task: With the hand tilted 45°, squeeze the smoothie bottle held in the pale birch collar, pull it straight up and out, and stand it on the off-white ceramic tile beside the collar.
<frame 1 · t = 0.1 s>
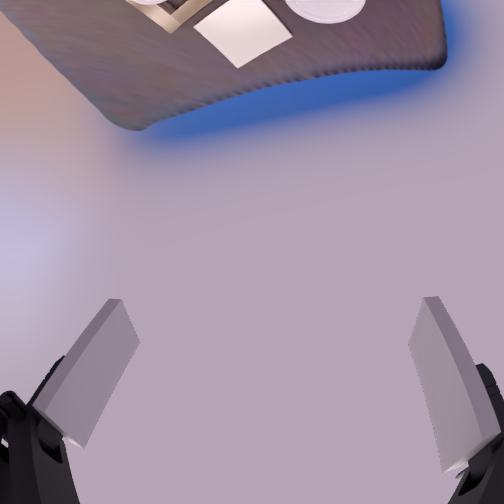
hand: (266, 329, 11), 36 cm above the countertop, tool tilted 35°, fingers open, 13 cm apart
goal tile: (243, 27, 27), on the countertop
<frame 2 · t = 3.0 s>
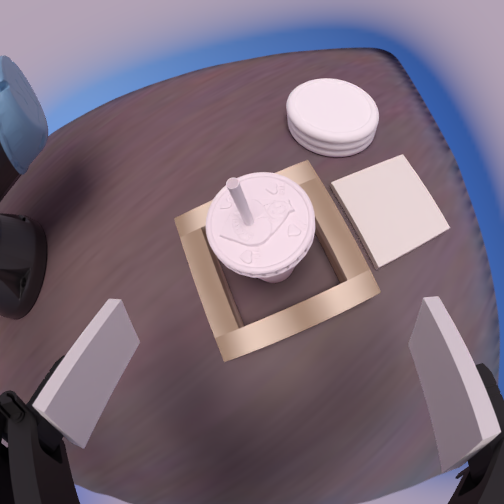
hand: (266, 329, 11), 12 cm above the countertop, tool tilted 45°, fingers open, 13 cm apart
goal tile: (391, 208, 25), on the countertop
bottle collar: (273, 262, 25), on the countertop
coaster: (331, 126, 29), on the countertop
smoothie: (274, 262, 25), resting in bottle collar
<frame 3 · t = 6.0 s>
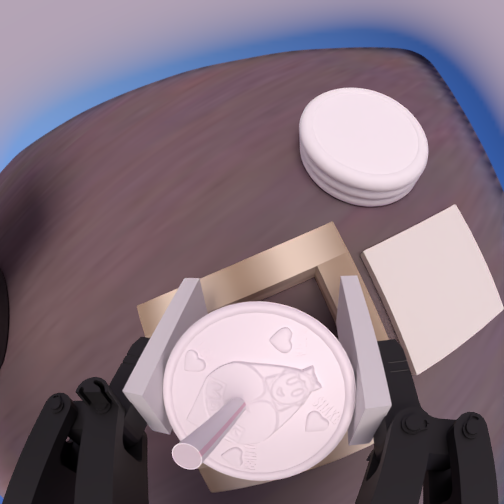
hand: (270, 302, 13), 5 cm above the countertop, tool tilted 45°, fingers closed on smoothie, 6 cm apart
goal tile: (438, 285, 16), on the countertop
bottle collar: (277, 367, 17), on the countertop
coaster: (360, 156, 21), on the countertop
smoothie: (277, 367, 17), resting in bottle collar, touching gripper
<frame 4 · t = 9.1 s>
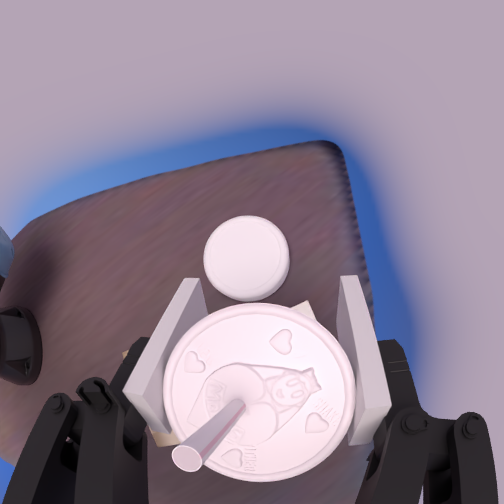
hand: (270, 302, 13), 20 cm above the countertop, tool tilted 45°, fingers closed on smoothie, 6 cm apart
bottle collar: (191, 385, 31), on the countertop
coaster: (249, 262, 35), on the countertop
smoothie: (277, 367, 17), point 15 cm above the countertop, touching gripper
when the fingers open (7 cm above the countertop, at t = 12.2 s): smoothie stays where it is, resting on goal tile.
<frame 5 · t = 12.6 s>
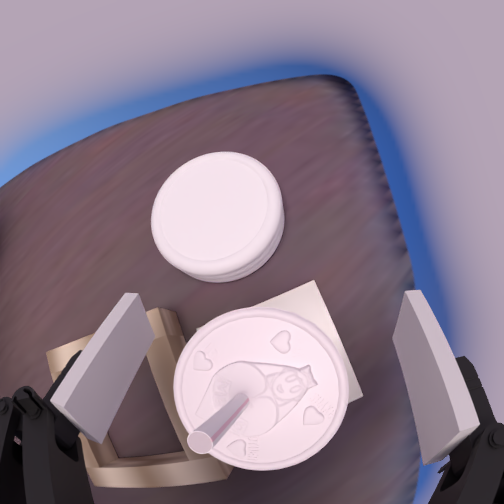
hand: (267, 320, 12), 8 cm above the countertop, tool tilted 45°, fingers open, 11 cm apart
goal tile: (279, 364, 19), on the countertop
bottle collar: (136, 408, 19), on the countertop
coaster: (223, 224, 23), on the countertop
smoothie: (278, 366, 18), point 1 cm above the countertop, touching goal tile
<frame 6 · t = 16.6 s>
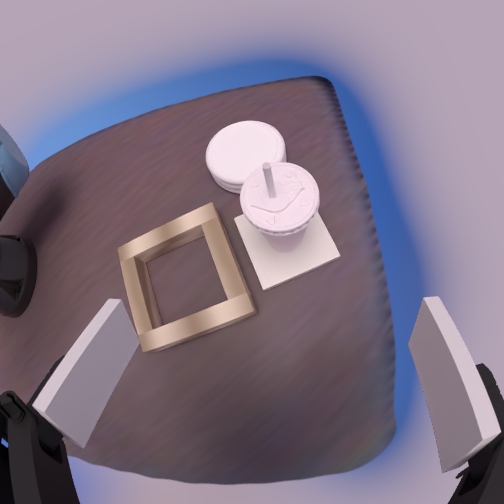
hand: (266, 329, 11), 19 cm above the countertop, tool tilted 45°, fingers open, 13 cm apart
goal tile: (286, 239, 32), on the countertop
bottle collar: (186, 282, 32), on the countertop
coaster: (248, 164, 36), on the countertop
smoothie: (285, 237, 31), point 1 cm above the countertop, touching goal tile
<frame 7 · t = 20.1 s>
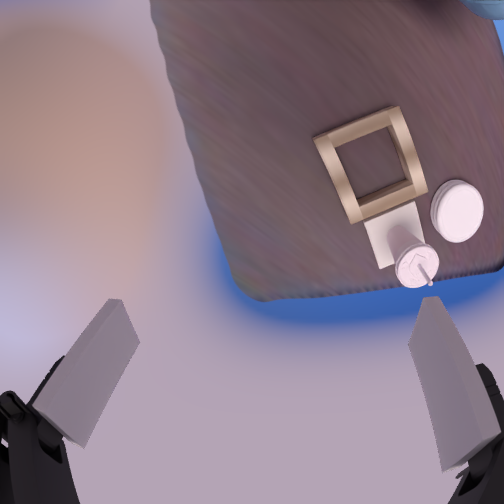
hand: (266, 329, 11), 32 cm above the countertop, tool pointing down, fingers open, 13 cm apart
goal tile: (395, 234, 41), on the countertop
bottle collar: (370, 162, 37), on the countertop
coaster: (452, 207, 38), on the countertop
smoothie: (396, 236, 40), point 1 cm above the countertop, touching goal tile
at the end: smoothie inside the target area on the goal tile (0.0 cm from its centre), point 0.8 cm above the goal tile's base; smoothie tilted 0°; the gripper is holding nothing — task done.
